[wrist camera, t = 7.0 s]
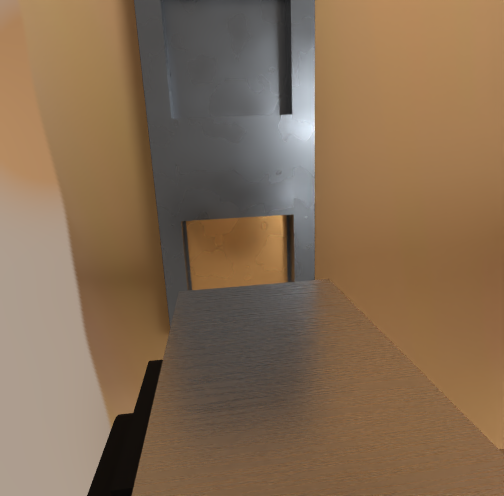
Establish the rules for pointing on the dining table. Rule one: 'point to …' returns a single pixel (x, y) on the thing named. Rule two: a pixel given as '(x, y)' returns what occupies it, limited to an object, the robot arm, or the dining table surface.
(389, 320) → the dining table surface
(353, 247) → the dining table surface
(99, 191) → the dining table surface
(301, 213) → the rail
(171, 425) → the block
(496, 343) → the dining table surface
